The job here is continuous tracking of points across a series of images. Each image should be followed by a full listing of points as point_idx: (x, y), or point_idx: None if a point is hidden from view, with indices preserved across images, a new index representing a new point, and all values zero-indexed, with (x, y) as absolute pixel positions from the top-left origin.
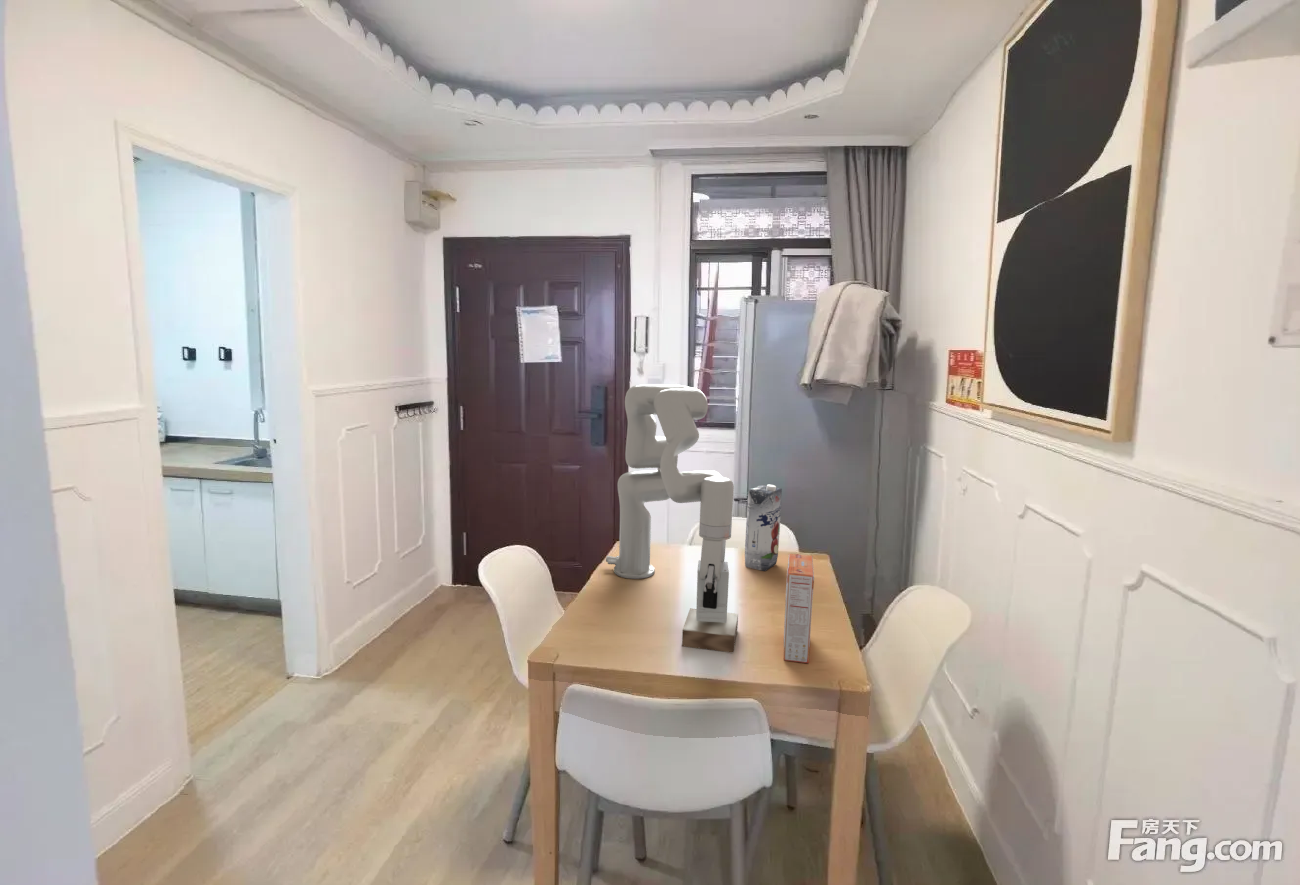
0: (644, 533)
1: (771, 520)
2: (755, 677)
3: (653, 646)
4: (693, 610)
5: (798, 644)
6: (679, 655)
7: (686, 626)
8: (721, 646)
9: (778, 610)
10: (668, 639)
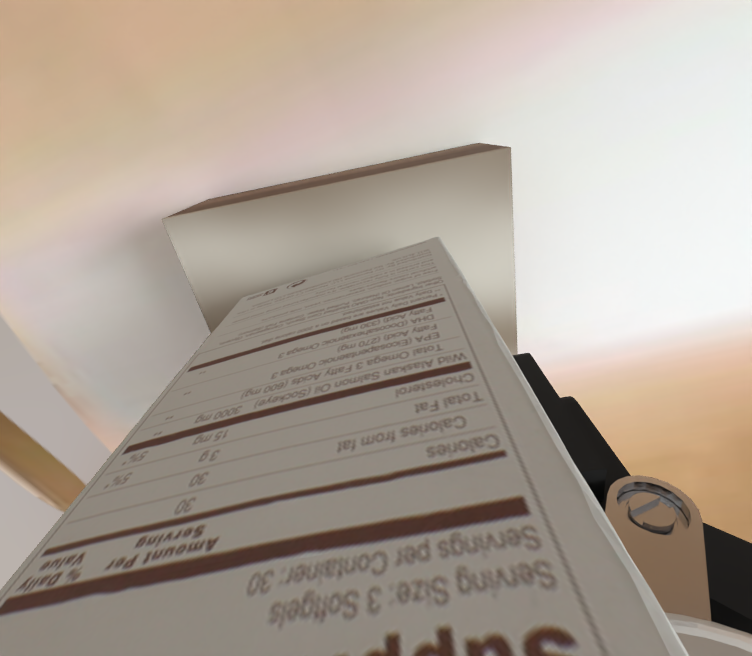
0: None
1: None
2: None
3: (100, 33)
4: (480, 186)
5: None
6: (119, 221)
7: (208, 230)
8: None
9: (740, 466)
10: (237, 91)
